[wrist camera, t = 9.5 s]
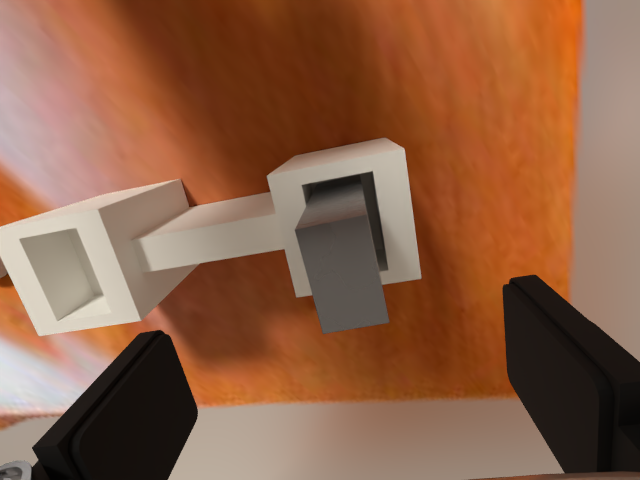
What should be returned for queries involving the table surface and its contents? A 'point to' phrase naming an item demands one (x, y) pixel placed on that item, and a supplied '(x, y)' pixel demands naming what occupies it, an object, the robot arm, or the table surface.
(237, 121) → the table surface
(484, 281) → the table surface
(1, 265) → the bracket
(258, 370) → the table surface
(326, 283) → the gray rectangular block
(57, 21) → the table surface
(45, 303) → the double socket connector
